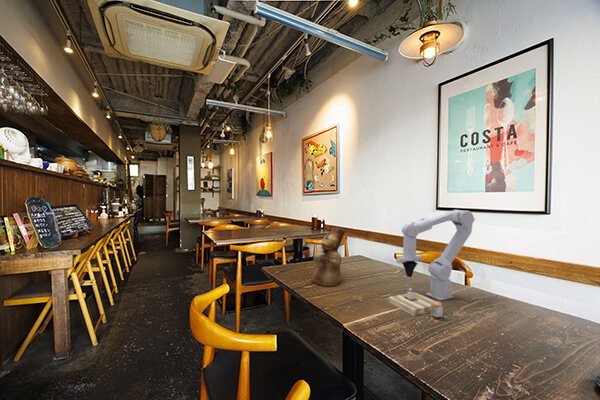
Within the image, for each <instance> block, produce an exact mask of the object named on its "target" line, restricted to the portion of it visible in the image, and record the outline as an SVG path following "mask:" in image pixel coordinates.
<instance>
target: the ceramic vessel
mask: <svg viewBox="0 0 600 400" xmlns="http://www.w3.org/2000/svg"><path fill="white" fill-rule="evenodd" d="M344 235H345V229H342V228H338V227H332V228H331V231H330V234H329V233H326V235H325V236H324V237H323V238H322V240H321V244H320V245H321V250H320V251H317V252H316V253H315V254H314V255H313V262H314V264H315V265H317V268H316V269H315V271H314V272H313V274H312V279H311V280H312V283H314V284H317V285H319V286H324V287H329V288H330V287H332V286H333V287H335V286H338V285H339V283H340V281H341V279H342V272H341V265H342V256H341V254H340V253H339V252H338V250H339V248H340V245H341V243H342V240H343V239H344Z"/></svg>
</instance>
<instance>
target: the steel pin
mask: <svg viewBox="0 0 600 400" xmlns="http://www.w3.org/2000/svg"><path fill="white" fill-rule="evenodd" d="M415 292H416V289H415V288H414V287H410V286H408V287H407V288H406V294H407V300H409V301H415Z"/></svg>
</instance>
